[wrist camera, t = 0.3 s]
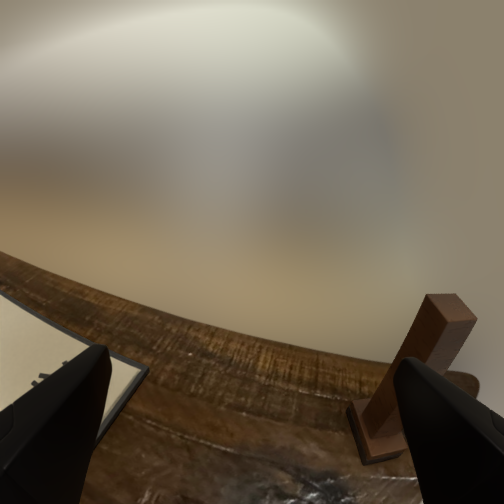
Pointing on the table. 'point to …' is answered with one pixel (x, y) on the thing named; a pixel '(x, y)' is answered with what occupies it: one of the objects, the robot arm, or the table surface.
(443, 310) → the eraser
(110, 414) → the whiteboard
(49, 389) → the robot arm
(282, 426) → the table surface
